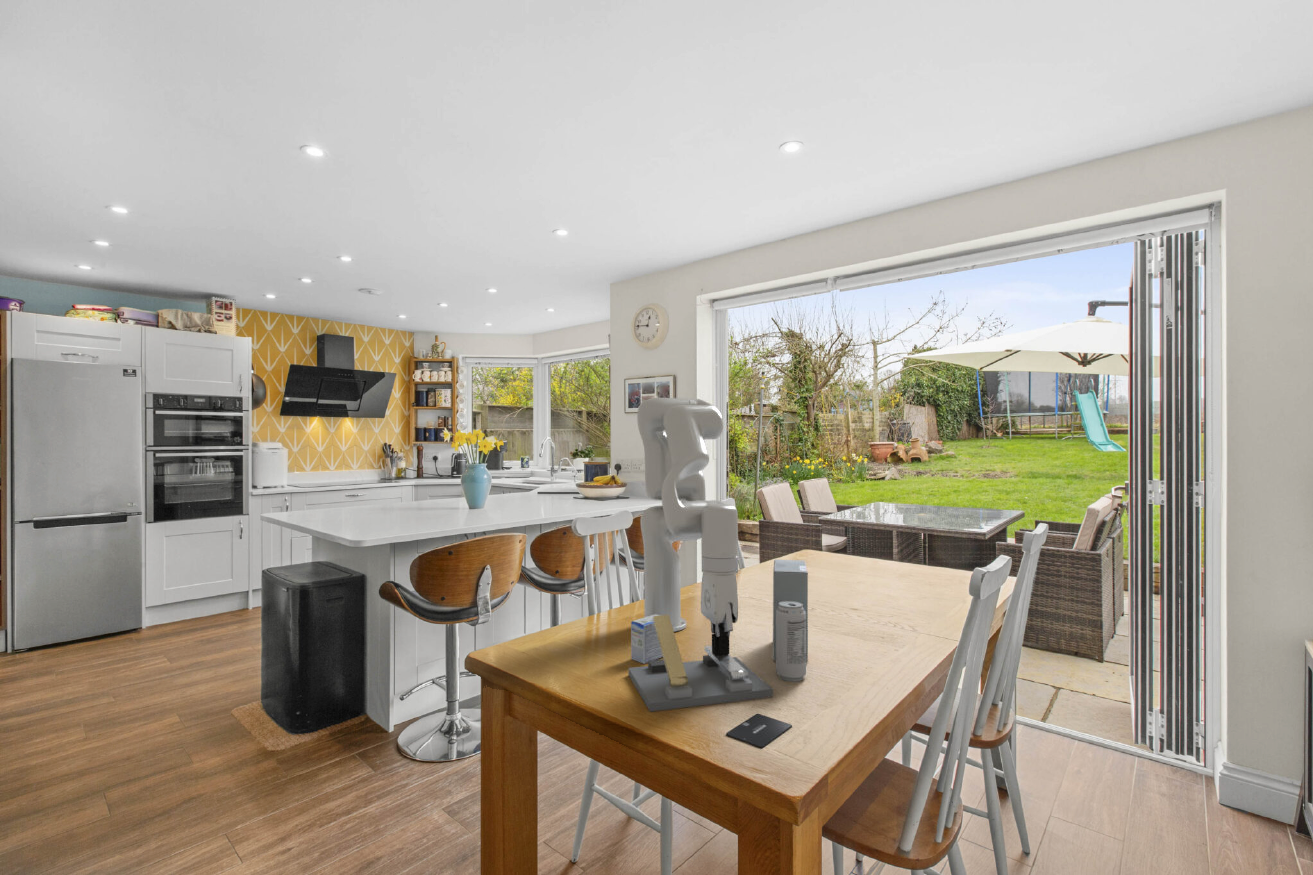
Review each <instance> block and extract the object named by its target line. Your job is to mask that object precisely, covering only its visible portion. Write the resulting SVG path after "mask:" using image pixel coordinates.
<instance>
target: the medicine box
mask: <svg viewBox="0 0 1313 875" xmlns="http://www.w3.org/2000/svg"><path fill="white" fill-rule="evenodd" d="M654 616H659V615H656V614H655V615H652V616H648V617H645V616H644V617H641V618H638V619H635V620H632V621H631V622H630V624H631V625H630V630H631V631H630V634H631V635H630V640H631V641H630V642H631V643H630V645H631V646H630V647H631V648H630V650H631V652H630V653H631V654H630V655H631V656H630V658H631V660H633V661H634V662H637V661H638V663H640V664H643V665H644V664H648V661H653V660H660V659H661V658H662V659H663V656H662V652H661V648H660V644H659V640H658V637H657V633H656V629H655V625H654V621H653V617H654Z"/></svg>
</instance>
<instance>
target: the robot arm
mask: <svg viewBox="0 0 1313 875" xmlns="http://www.w3.org/2000/svg"><path fill="white" fill-rule="evenodd" d="M636 415H637V416H636V417H637V419H636V421H637V427H638V431H639V434H640V438H641V441H642V445H643V449H644V480H645V481H644V483H645V492H646V496H647V497H648V498H649V499H651V500H654V501H661V505H653V506H650V507H648V508H645V510H643V511H642V513H641V516H640V530H641V536H642V543H643V544H642V546H643V570H644V571H643V572H644V573H643V574H644V575H643V576H644V578H643V579H644V580H643V581H644V587H643V588H644V590H643V592H644V594H643V595H644V598H643V601H644V603H643V604H644V610H643V612H644V617H648V616H652V615H655V614H656V615H669V617H670V621H671V624H672V628H673V631H674V633H675V632H679V631H682V630H684V629H685V628H686V627H687V620H686V619H685V618H683V617H682V616H681V558H680V555H679V554H678V552H677V551H676V550H675V547H673V545H672V543H675V542H686V541H697V540H700V539H701V545H700V546H701V572H702V577H701V588H700V589H701V590H700V592H701V593H700V613H701V614H702V616H703V617H705V618H706V619H707V620H708V621H709V622H710V628H711V629H710V630H711V645H712V653H713V654H714V655H715V656H721V655H728V654H729V655H730V635H731V632H733V631H734V626H733V624H736V623H737V622H738V618H739V600H738V598H739V597H738V583H737V574H738V573H739V523H738V522H739V520H738V519H739V517H738V516H739V514H738V513H739V512H738V509H737V507H736V506H734V505H733V504H727V503H725V502H724V501H721V500H718V499H717V500H713V499H712V500H707V499H706V497H707V496H706V482H705V481H706V480H705V476H704V473H703V470H705V468H706V467H707V466H708V465H709V462H710V457H709V452H708V448H707V446H706V442H705V440H706V441H707V440H716V439H718V438H720V436H722V433H723V430H724V421H723V416H722V413H721V412H720V410H719V409H718V408H717V407H716V406H715V405H713V404H711V403H709V402H707V401H706V400H703V399H699V398H685V397H684V398H683V397H682V398H679V397H652V398H648V399H645V400H643V401H642V402H641V403H640V404H639V406H638V409H637V414H636Z"/></svg>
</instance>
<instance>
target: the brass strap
mask: <svg viewBox="0 0 1313 875" xmlns="http://www.w3.org/2000/svg"><path fill="white" fill-rule="evenodd" d="M653 621H654V625H655V629H656V633H657V637H658V640H659V644H660V648H661V652H662V656H663V657H662V660H663V659H664V663H665V667H666V671H667V675H668V678H669V684H670V687H677V686H686V685H688V677H687V676H686V672H685V669H684V666H683V662H684V661H683V659H682V654H681V652H680V649H679V645H678V642H677V639H676V635H675V632H674V631H673V628H672V624H671V621H670V617H669V615H659V616H654V617H653Z"/></svg>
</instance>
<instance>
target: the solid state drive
mask: <svg viewBox="0 0 1313 875" xmlns="http://www.w3.org/2000/svg"><path fill="white" fill-rule="evenodd" d="M791 728H793V725H792V724H791V723H788V722H785V721H782V720H779V719H776V718H773V717H770V716H767V715H764V714H761V713H755V714H754V715H752V716H750V717H749V718H748V719H746V720H744V721H743V722H741V723H740V724H738V725H737V726H735V727H733V728H732V729H730V730H729V731H727V732H726V733H725V735H726V737H728V738H731V739H734V740H737V741H739V742H743V743H745V744H747V745H750V746H753V747H755V748H758V749H764V748H765V747H767V746H768V745H769V744H771V743H772V742H774V741H775V740H777V739H778V738H779V737H781V736H782V735H784V734H785V733H786V732H788V731H789V730H790V729H791Z"/></svg>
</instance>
